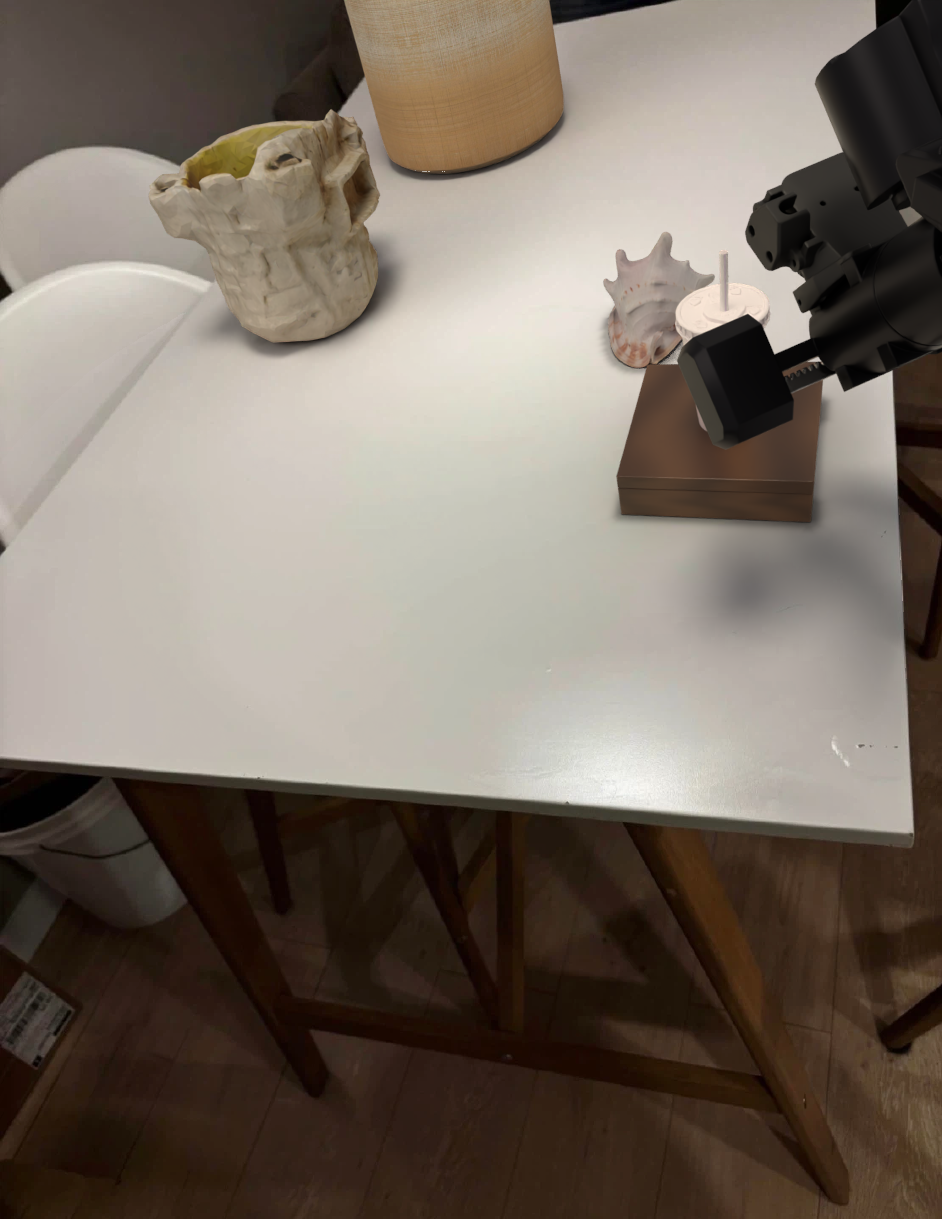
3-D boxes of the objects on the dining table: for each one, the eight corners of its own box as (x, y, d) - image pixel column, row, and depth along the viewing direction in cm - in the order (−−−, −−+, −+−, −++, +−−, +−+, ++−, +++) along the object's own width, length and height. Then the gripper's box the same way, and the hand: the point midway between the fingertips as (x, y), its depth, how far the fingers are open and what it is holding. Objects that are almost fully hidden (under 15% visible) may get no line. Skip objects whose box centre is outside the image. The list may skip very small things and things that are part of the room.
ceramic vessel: (215, 191, 110) (260, -10, 90) (385, 299, 114) (464, 130, 94) (113, 290, 97) (139, 81, 77) (309, 409, 101) (382, 239, 81)
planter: (508, 185, 112) (469, -18, 96) (354, 177, 124) (296, -4, 108) (598, 94, 124) (576, -100, 108) (449, 96, 136) (410, -78, 120)
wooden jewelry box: (821, 401, 73) (824, 360, 70) (810, 522, 65) (814, 481, 62) (650, 402, 78) (647, 364, 75) (621, 514, 70) (616, 476, 67)
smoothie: (694, 454, 67) (686, 284, 56) (671, 405, 71) (659, 239, 61) (779, 433, 66) (787, 257, 56) (751, 384, 70) (753, 213, 60)
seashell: (718, 290, 87) (717, 196, 80) (708, 365, 80) (705, 268, 73) (615, 297, 90) (605, 208, 83) (596, 370, 83) (583, 278, 76)
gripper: (1035, 53, 42) (862, 202, 58) (686, 199, 41) (604, 311, 56) (1124, 270, 43) (928, 360, 58) (781, 423, 41) (674, 473, 57)
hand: (784, 372), depth 57 cm, fingers open, 9 cm apart
